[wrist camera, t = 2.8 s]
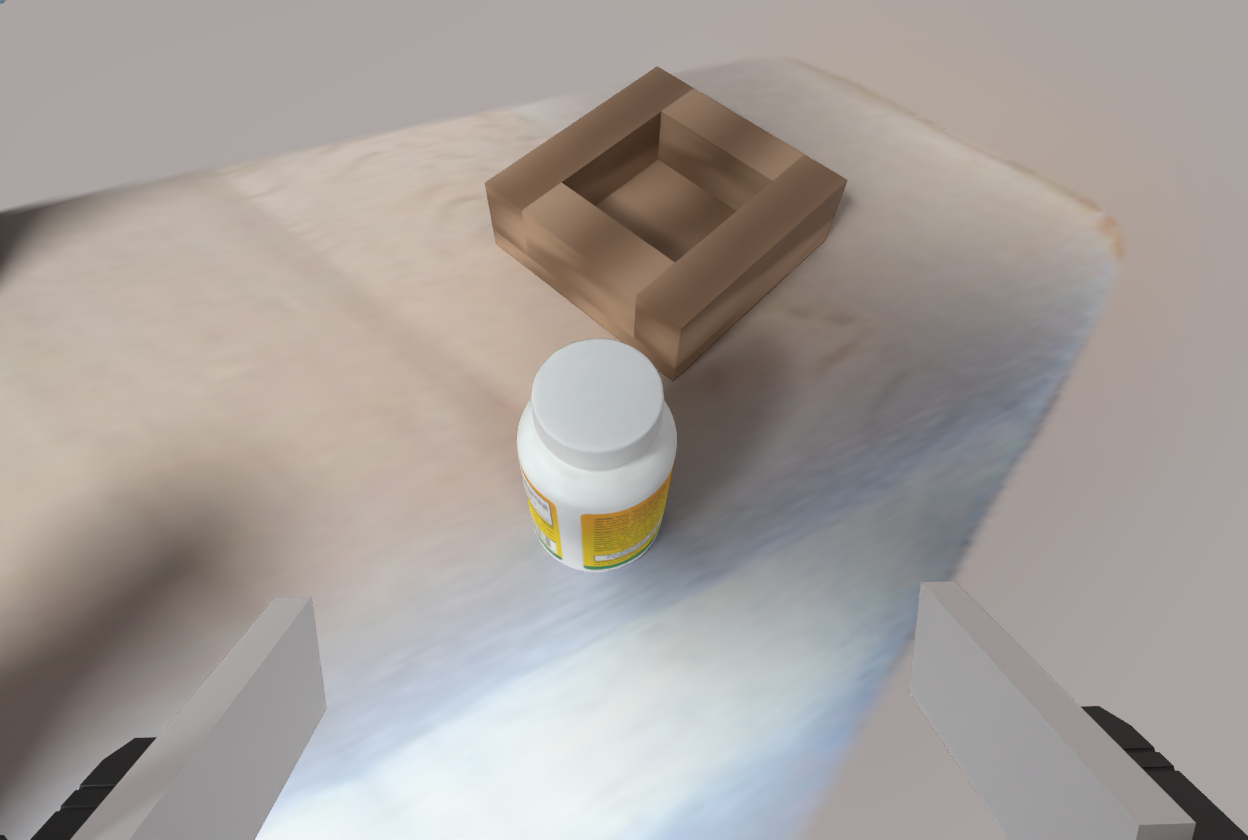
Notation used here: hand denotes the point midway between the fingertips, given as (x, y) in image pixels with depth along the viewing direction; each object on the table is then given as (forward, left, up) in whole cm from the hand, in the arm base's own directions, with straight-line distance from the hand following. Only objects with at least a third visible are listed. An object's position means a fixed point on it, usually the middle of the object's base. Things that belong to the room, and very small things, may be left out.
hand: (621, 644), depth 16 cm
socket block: (-14, +18, -12) cm, 26 cm away
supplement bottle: (-6, +5, -12) cm, 15 cm away
